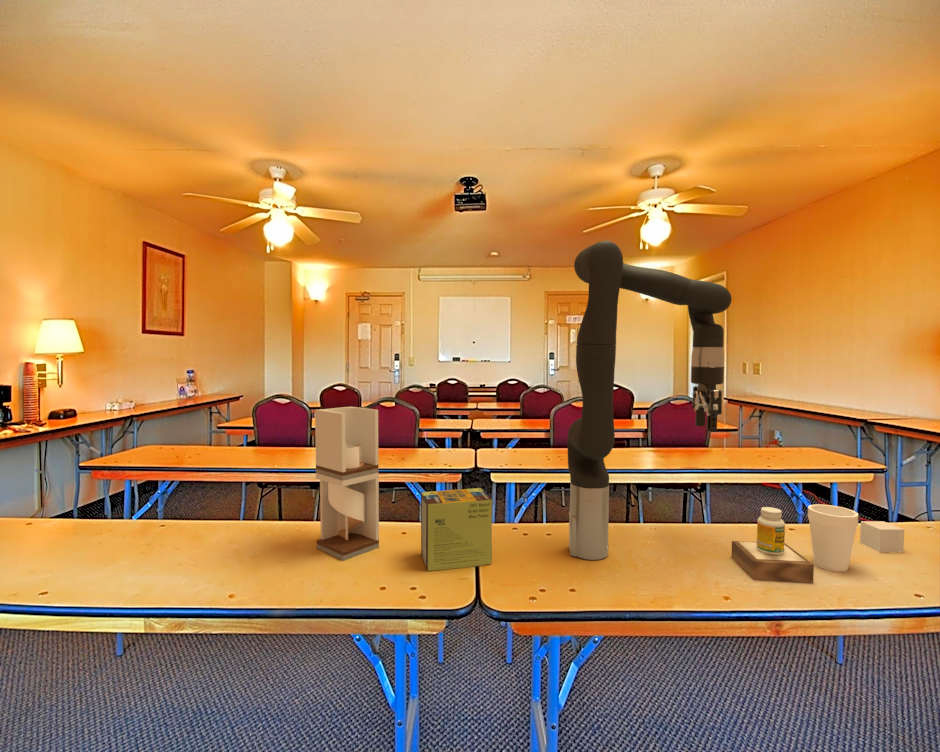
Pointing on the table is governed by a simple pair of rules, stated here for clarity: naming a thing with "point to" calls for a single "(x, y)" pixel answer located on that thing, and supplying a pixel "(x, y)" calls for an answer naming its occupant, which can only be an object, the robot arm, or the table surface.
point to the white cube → (882, 536)
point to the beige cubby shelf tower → (348, 480)
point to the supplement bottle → (770, 531)
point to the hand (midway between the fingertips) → (705, 428)
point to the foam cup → (832, 535)
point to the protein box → (456, 529)
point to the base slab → (772, 563)
